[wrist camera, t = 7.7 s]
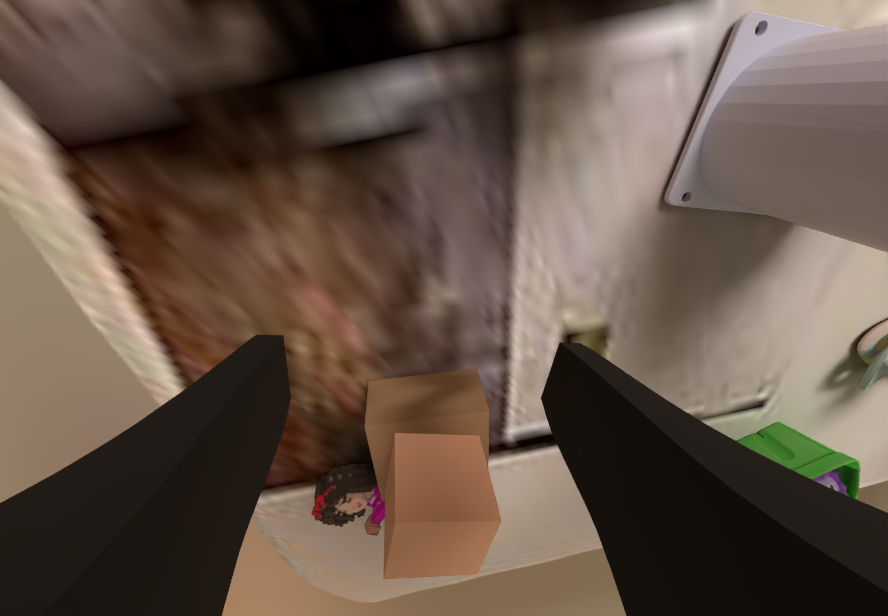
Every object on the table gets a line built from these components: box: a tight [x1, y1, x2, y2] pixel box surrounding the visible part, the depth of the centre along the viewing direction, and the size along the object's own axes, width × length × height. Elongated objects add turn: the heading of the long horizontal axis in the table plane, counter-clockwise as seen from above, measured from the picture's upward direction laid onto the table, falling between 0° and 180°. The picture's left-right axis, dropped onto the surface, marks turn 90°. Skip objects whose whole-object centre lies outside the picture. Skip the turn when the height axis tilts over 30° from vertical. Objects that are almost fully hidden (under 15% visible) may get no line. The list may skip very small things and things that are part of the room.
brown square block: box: [365, 369, 490, 501], centre depth 23 cm, size 7×7×4 cm
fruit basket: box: [737, 422, 860, 499], centre depth 28 cm, size 11×9×11 cm
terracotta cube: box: [384, 433, 501, 579], centre depth 20 cm, size 5×5×5 cm
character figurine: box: [312, 463, 385, 535], centre depth 26 cm, size 6×5×12 cm
